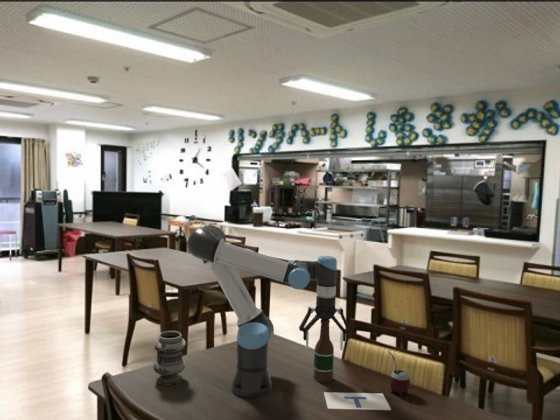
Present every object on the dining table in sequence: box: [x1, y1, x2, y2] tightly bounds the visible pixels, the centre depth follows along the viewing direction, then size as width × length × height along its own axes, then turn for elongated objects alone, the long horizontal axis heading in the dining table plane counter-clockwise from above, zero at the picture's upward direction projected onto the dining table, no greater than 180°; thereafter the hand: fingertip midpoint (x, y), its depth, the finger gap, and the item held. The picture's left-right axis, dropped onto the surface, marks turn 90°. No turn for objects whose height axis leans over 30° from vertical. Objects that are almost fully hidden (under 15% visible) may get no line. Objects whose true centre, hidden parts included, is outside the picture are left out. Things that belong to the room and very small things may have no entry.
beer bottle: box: [313, 319, 335, 384], centre depth 180 cm, size 8×8×24 cm
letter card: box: [323, 391, 392, 411], centre depth 163 cm, size 22×12×1 cm, turn 91°
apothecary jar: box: [152, 330, 187, 386], centre depth 175 cm, size 12×12×18 cm
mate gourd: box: [387, 349, 411, 398], centre depth 170 cm, size 8×8×15 cm
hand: (324, 348), depth 180 cm, fingers open, 13 cm apart
